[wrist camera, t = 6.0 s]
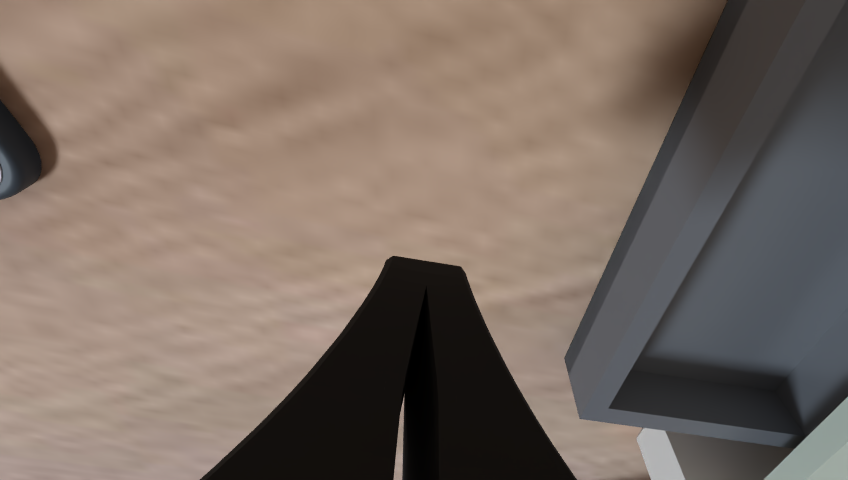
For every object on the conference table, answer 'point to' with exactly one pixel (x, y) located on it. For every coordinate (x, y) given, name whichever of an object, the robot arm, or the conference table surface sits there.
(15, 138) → the smartphone
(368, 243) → the conference table surface
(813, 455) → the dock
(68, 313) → the conference table surface
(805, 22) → the shell tray
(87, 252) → the conference table surface
